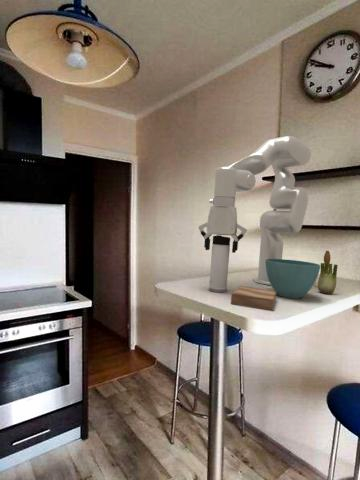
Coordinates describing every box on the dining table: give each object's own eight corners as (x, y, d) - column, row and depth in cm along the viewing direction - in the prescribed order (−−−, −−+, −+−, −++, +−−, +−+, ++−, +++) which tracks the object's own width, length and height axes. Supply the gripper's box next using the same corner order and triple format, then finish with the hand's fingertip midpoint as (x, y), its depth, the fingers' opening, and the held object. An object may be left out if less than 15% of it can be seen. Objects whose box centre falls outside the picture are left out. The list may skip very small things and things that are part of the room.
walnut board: (239, 294, 99) (240, 285, 99) (275, 300, 95) (276, 290, 95) (230, 303, 86) (231, 293, 86) (272, 310, 82) (273, 299, 82)
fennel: (323, 289, 120) (326, 251, 120) (310, 284, 128) (313, 249, 128) (340, 289, 122) (343, 252, 121) (326, 285, 130) (329, 250, 129)
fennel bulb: (336, 294, 111) (339, 263, 111) (331, 295, 108) (334, 264, 107) (320, 291, 115) (323, 261, 115) (315, 292, 112) (318, 262, 112)
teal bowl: (268, 287, 116) (270, 257, 115) (318, 295, 107) (321, 262, 107) (258, 295, 100) (261, 260, 99) (316, 305, 91) (319, 267, 91)
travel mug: (205, 290, 102) (210, 234, 101) (212, 287, 108) (216, 234, 107) (222, 293, 99) (227, 235, 98) (228, 290, 105) (232, 235, 104)
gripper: (197, 201, 101) (194, 249, 102) (247, 202, 95) (243, 254, 96) (203, 203, 108) (200, 248, 109) (250, 204, 102) (246, 252, 103)
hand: (220, 251), depth 102 cm, fingers open, 9 cm apart
